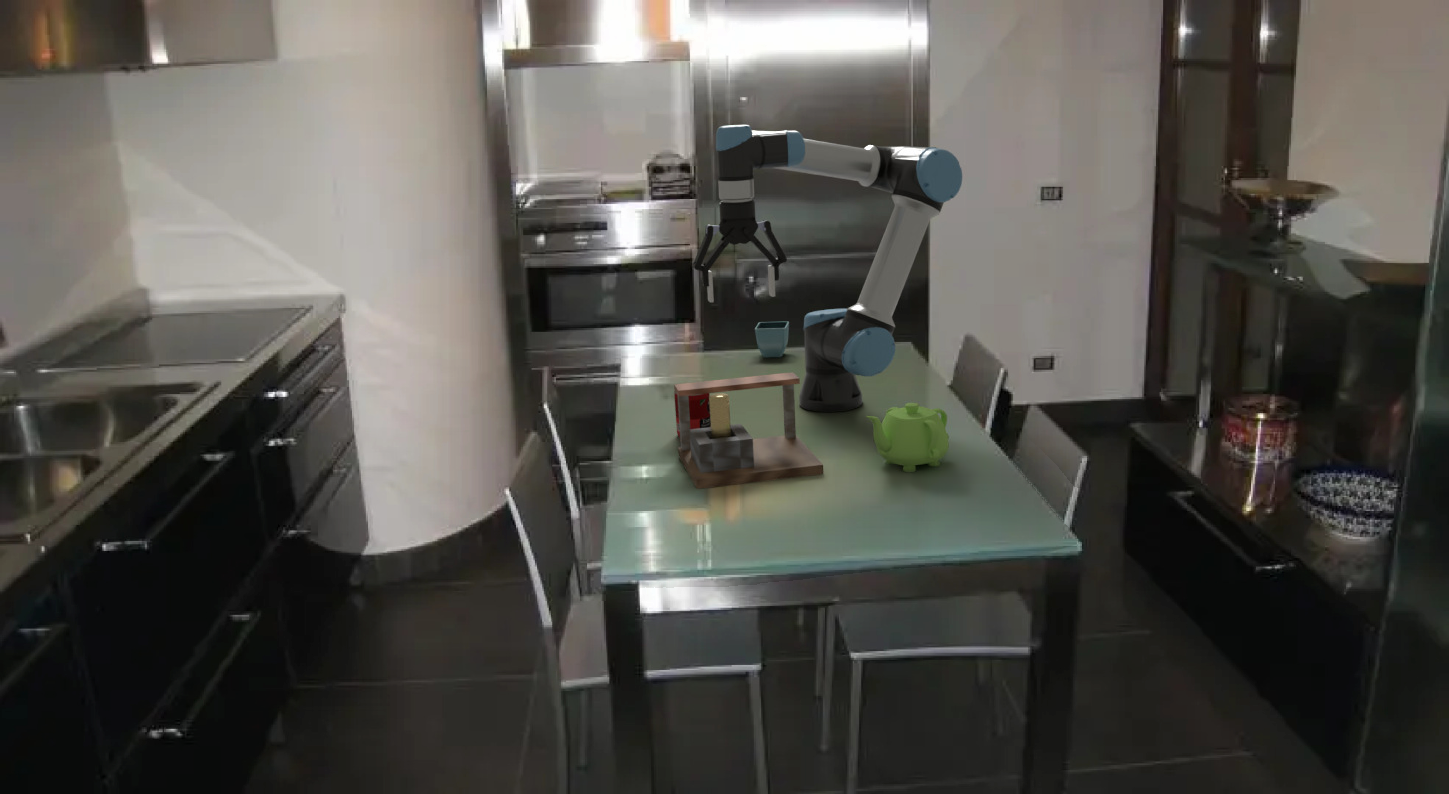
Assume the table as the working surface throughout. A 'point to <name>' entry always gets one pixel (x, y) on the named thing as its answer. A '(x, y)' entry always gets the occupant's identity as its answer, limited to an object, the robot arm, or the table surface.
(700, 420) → the canned food
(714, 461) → the station
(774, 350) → the flower pot
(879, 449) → the teapot
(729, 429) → the peg
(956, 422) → the table surface
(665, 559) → the table surface
